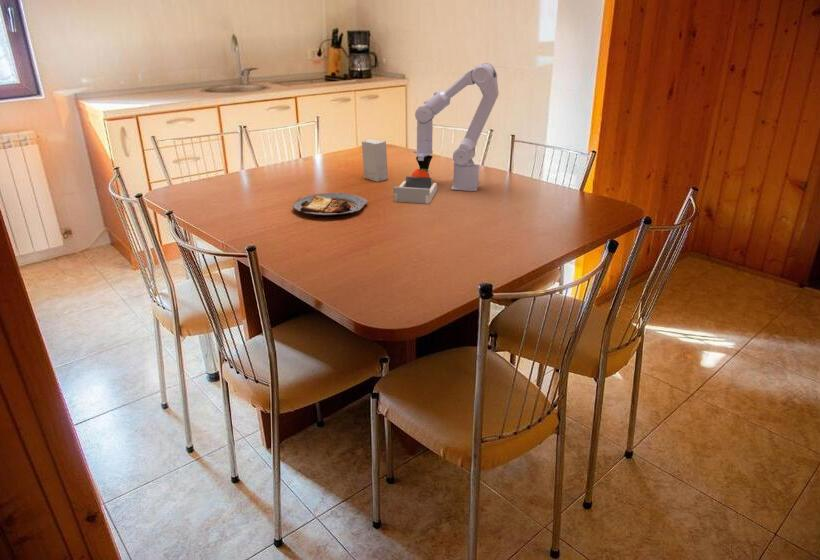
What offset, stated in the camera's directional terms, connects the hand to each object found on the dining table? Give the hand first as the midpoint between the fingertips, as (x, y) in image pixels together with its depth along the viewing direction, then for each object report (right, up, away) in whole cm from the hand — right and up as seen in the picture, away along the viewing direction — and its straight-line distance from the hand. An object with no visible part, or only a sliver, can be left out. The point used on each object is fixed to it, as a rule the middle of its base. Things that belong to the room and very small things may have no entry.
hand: (424, 175), depth 222 cm
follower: (-2, -7, -8) cm, 11 cm away
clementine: (-1, -5, -2) cm, 5 cm away
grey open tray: (-3, -10, -12) cm, 16 cm away
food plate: (-32, -16, -25) cm, 44 cm away
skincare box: (-19, 0, +8) cm, 21 cm away
